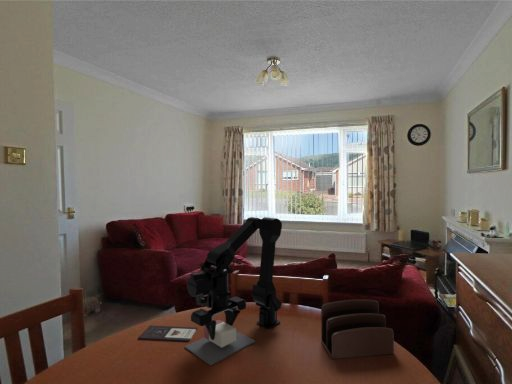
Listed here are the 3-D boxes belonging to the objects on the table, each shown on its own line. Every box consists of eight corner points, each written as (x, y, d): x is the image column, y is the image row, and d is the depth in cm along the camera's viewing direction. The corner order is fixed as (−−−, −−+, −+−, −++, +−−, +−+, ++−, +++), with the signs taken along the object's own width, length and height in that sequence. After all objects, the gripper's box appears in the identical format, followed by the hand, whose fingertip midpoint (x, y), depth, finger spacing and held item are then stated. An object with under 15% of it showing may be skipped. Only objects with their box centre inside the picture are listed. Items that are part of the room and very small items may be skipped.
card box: (236, 340, 99) (236, 328, 99) (221, 347, 95) (221, 334, 95) (219, 331, 106) (218, 319, 106) (204, 337, 101) (204, 325, 101)
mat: (228, 328, 112) (227, 327, 112) (255, 342, 102) (254, 340, 102) (184, 347, 99) (184, 346, 99) (210, 365, 89) (210, 364, 89)
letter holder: (320, 342, 101) (320, 300, 101) (377, 338, 104) (377, 296, 103) (331, 360, 91) (331, 313, 91) (394, 354, 94) (394, 309, 93)
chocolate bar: (150, 325, 114) (197, 327, 112) (150, 327, 114) (197, 330, 112) (137, 337, 105) (188, 340, 103) (138, 340, 105) (188, 343, 103)
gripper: (225, 276, 112) (226, 318, 113) (180, 290, 99) (182, 337, 100) (246, 283, 104) (247, 329, 105) (200, 299, 91) (201, 350, 92)
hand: (220, 335), depth 100 cm, fingers closed on card box, 6 cm apart
